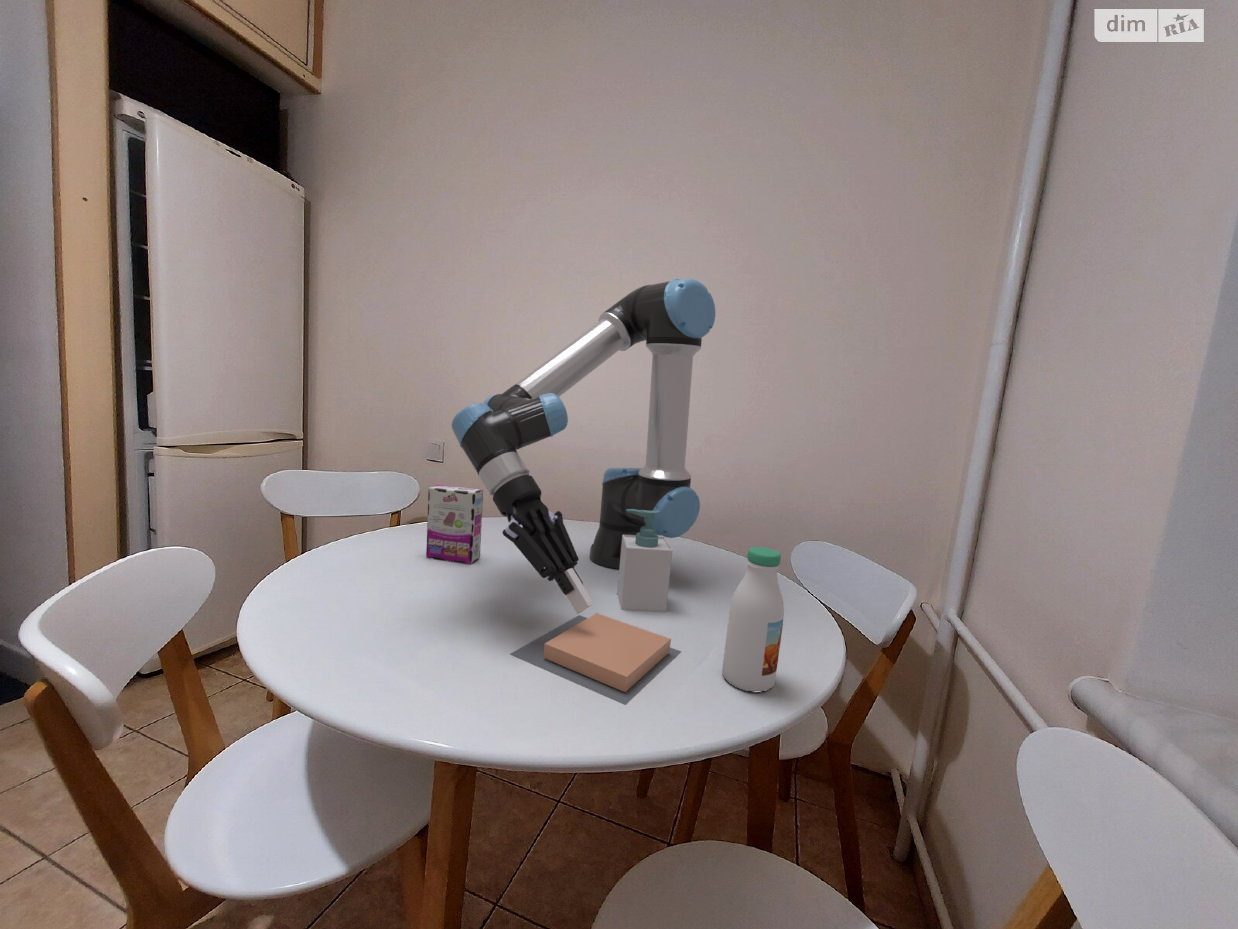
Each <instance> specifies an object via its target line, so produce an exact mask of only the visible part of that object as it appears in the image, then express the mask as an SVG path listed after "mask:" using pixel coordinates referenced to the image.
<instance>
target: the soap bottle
mask: <svg viewBox="0 0 1238 929" xmlns="http://www.w3.org/2000/svg"><path fill="white" fill-rule="evenodd" d="M626 511H627V512H628V513H633V514H636V515H638V516H641V517H645V518H644V521H645V526H644V527H641V529H640V533H637V534H636V535H623V536H622V545H621V556H620V567H619V569H618V581H617V591H616V592H617V593H616V595H617V597H618V603H619V607H620V610H624V611H643V612H644V611H645V612H665V613H666V612H667V604H668V595H669V589H670V588H669V586H670V580H671V579H670V578H671V577H670V576H671V570H672V569H671V568H672V557H673V548H672V547H671V546H670V544H669V542H668V541H667V539H666V537H664V536H659V535H656V534H655V528H653V527H651V524H652V523H653V519H654V514H659V513H660V511H658V510H657V511H647V510H636V509H627V510H626Z"/></svg>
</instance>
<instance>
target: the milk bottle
mask: <svg viewBox="0 0 1238 929" xmlns="http://www.w3.org/2000/svg"><path fill="white" fill-rule="evenodd" d="M746 558H747V559H746V560H747V561H746V565H747V569H746V571H745V573H744V575H743V578H742V579H741V581H740V582H739V584H738V586H737V587H736V589H735V591H734V593H733V595H732V597H731V598H732V600H731V603H730V609H729V615H728V622H727V629H726V637H725V642H724V644H725V646H724V653H723V660H722V662H723V663H722V668H721V669H722V671H721V672H722V676H723V678H724V680H725V679H726V680H727V681H728V682H729V683H728V682H727V681H726V680H725V681H726V682H727V683H728V684H729V685H731V684H732V685H731V686H733V685H734V686H735V688H736V687H737V689H738V688H741V689H743V690H742V691H744V690H747V691H746V692H748V691H765V690H768V689H770V688H771V689H772V688H773V687H774V685H775V683H776V677H777V670H778V664H779V656H780V650H781V649H780V648H781V642H782V641H781V640H782V633H783V625H784V614H785V607H784V606H785V605H784V598H783V595H782V592H781V589H780V585H779V581H778V570H779V569H780V564H781V553H780V552H779V551H777V550H775V549H772V548H769V547H762V546H752V547H749V548H748V550H747V556H746ZM734 686H733V687H734ZM741 689H740V690H741ZM771 689H770V690H771ZM768 691H769V690H768Z"/></svg>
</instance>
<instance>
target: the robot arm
mask: <svg viewBox="0 0 1238 929" xmlns="http://www.w3.org/2000/svg"><path fill="white" fill-rule="evenodd" d="M715 322H716V305H715V302H714V298H713V295H712V293H711V292H709V289H708V288H707V286H705V284H704V283H702V282H701V281H699V280H698V279H694V278H681V279H680V278H674V279H671V280H670V281H663V282H659V283H655V284H646V285H643V286H640V287H638V288H636V289H634V290H633V291H631V292H630V293H628V294H626V295H625V296H624V297H622V298H621V299H620V300H619V301H617V302H616V303H614V304H613V305H612V306H610V307H609V308H608V309H607V310H605V311H604V312H602V313H601V314H600V315H599V317H598V322H597V323H595V325H593V326H592V327H590V328H589V329H587V330H586V331H585V332H583V333H581V335H579V336H578V337H577V338H575V339H574V340H573V341H572V342H570V343H568V344H567V345H566V346H564V347H563V348H562V349H561V350H559V351H558V352H556V353H555V354H554V355H553V356H551V357H550V358H549V359H547V360H546V361H544V362H543V363H542V364H541V365H539V366H538V367H537V368H535V369H534V370H533V371H531V372H530V373H528V374H527V375H525V377H523V378H522V379H520V380H519V381H518V382H516V383H515V384H514V385H512V386H511V387H509V388H508V389H506V390H505V391H504V392H503V393H499V394H498V393H497V394H493V395H490V396H489V397H487V398H486V399H485V400H484V401H483V402H481V403H473V404H470V405H466V406H465V407H464V408H462V409H460V410H459V411H458V412H457V413H456V414H455V415H454V417H453V419H452V421H451V428H452V429H451V430H452V431H453V433H454V435H455V437H456V439H457V441H458V444H459V447H460V448H461V449H462V450H463V453H464V454H465V455H466V457H467V459H468V460H469V461H470V463H471V465H472V467H473V468H474V470H475V471H476V473H477V476H478V477H479V478H480V480H481V482H482V484H484V486H485V489H486V490H487V492H488V493H489V495H490V496H492V501H493V503H494V505H495V506H496V508H497V510H498V511H499V513H500V514H501V516H503V517H506V518H507V521H508V525H507V526H506V527H505V529H502V535H503V536H504V537H505V538H506V539H508V540H509V541H511V542H512V544H514V546H515V547H516V548H517V549H518V550H519V552H521V554H522V555H523V556H524V558H526V560H527V561H528V562H529V564H530V565H531V566H532V567H533V568H534V569H535V572H537V574H538V575H539V576H540V577H541V578H543V579H546V578H547V580H548V581H549V582H552V581H553V580H554V581H555V582H556V583H557V586H558V587H559V589H560V590H561V592H562V594H564V596H566V597H567V599H568V601H569V602H570V604H571V606H572V607H573V609H574V611H575V613H576V614H577V615H580V614H581V613H583V612H585V611H586V610H587V609H588V608H590V607H591V606H593V605H594V601H593V599H592V598H591V596H590V594H589V593H588V591H587V589H586V587H585V586H584V582H583V581H582V579H581V578H580V576H579V574H578V572H577V570H576V569H575V567H576V566H577V565H578V561H580V560H579V556H578V554H577V552H576V549H575V547H574V545H573V541H572V540H571V537H570V535H569V533H568V530H567V528H566V525H565V524H564V519H563V518H564V517H563V513H562V512H561V511H559V510H556V512H553V511H550V510H549V508H548V506H547V505H546V504H545V503H543V501H542V499H541V496H542V490H541V488H540V487H539V484H537V482H536V480H535V479H534V477H533V476H532V475H530V470H529V468H528V467H527V465H526V463H525V461H523V459H522V457H521V456H520V454H519V452H518V450H520V449H522V448H524V447H527V446H530V445H533V444H534V443H538V442H540V441H542V440H545V439H547V438H549V437H551V438H552V437H554V436H555V435H556V434H559V433H561V432H563V431H564V430H565V429H566V427H567V426H568V424H569V416H568V412H567V408H566V406H565V403H564V402H563V400H562V398H560V397H562V395H563V394H565V393H566V392H567V391H569V390H570V389H571V388H572V387H574V386H575V385H576V384H577V383H579V382H580V381H581V380H583V379H585V377H587V376H588V375H589V374H591V373H592V372H593V371H595V370H596V369H597V368H598V367H599V366H601V365H602V364H603V363H604V362H606V361H607V360H608V359H610V358H611V357H613V356H614V355H615V354H616V353H618V352H619V351H621V352H625V351H628V350H629V349H630V348H631V347H632V346H634V345H636V344H638V343H639V344H640V343H641V342H644V341H645V346H646V348H647V349H648V350H649V351H650V352H651V355H652V360H651V376H650V388H649V389H650V392H649V405H648V406H649V407H648V423H647V425H648V426H647V441H646V455H645V458H646V459H645V465H644V466H643V467H609V468H607V469H606V470H605V471H604V473H603V479H602V484H601V485H602V488H601V489H602V490H601V491H602V492H601V503H600V513H599V514H600V515H599V524H598V525H599V526H598V530H597V531H596V535H595V537H594V540H593V543H592V544H591V546H590V549H589V559H590V560H591V561H592V562H593V563H595V564H597V565H599V566H602V567H606V568H609V569H610V568H611V569H615V570H617V569H618V570H619V567H620V556H621V545H622V536H623V535H636V534H637V533H640V529H641V527H644V526H645V521H644V518H645V517H641V516H638V515H636V514H633V513H628V512H627V511H626V510H627V509H636V510H647V511H657V510H658V511H660V513H659V514H654V519H653V523H652V524H651V527H653V528H655V534H656V535H657V536H658V537H665V538H669V539H674V538H678V537H680V536H683V535H685V534H686V533H687V532H689V530H690V529H691V527H693V526H694V524H696V521H697V519H698V517H699V513H700V510H701V500H700V497H699V496H698V494H697V492H696V491H695V490H694V489H693V488H691V484H692V483H691V482H692V475H691V473H690V472H689V471H688V470H687V469H686V456H687V442H688V431H689V430H688V429H689V418H690V402H691V388H692V375H693V366H694V365H693V363H694V362H693V361H694V356H695V355H696V354H697V353H698V352H699V351H700V350H701V349H702V342H703V337H705V336H706V335H708V334H709V333H710V330H711V329H713V326H714V324H715Z"/></svg>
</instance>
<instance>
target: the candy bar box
mask: <svg viewBox="0 0 1238 929" xmlns="http://www.w3.org/2000/svg"><path fill="white" fill-rule="evenodd" d="M427 494H428V495H427V498H428V499H427V505H428V506H427V520H426V521H427V523H426V524H427V526H426V527H427V528H426V530H427V531H426V550H425V553H426V555H425V558H426V559H430V558H433V559H432V560H440V561H446V562H450V563H451V562H452V563H459V564H466V565H472V564H474V563H475V562H476V561H479V559H481V543H482V542H481V540H482V520H483V505H484V504H483V500H484V489H480V488H471V487H463V486H462V487H461V486H454V485H453V486H452V485H443V484H438V485H434V486H430V487H428V492H427Z"/></svg>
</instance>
